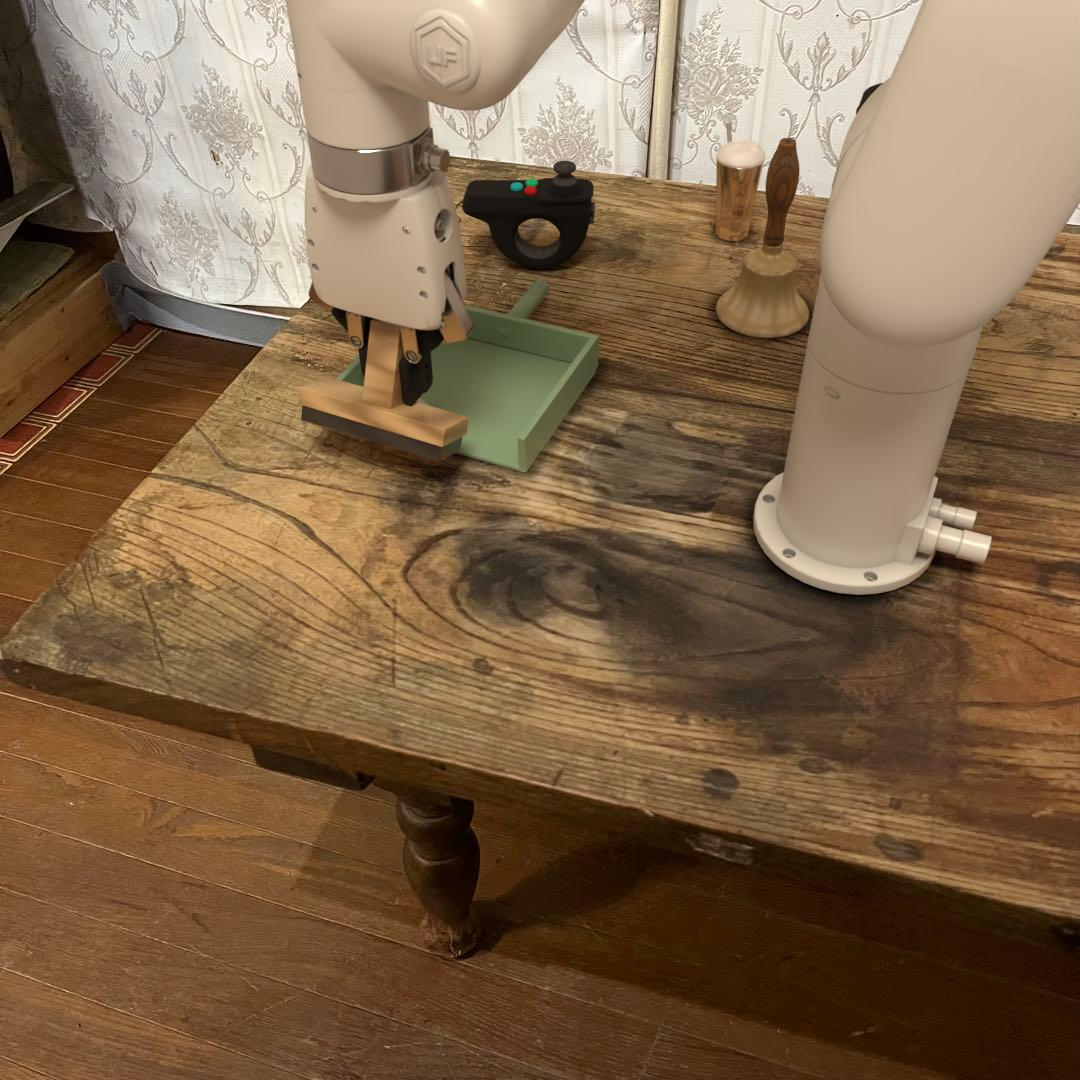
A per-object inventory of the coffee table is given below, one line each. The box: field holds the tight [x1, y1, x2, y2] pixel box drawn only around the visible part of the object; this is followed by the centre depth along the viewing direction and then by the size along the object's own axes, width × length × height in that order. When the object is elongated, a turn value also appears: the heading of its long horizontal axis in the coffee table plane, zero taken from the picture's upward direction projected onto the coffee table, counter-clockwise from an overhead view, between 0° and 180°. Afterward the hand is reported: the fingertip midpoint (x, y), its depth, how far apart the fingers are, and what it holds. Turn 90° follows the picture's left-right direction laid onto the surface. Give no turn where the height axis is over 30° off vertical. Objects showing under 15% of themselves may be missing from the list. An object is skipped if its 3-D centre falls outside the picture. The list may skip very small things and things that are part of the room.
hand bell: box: [715, 137, 810, 339], centre depth 88 cm, size 8×8×16 cm
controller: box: [461, 160, 596, 270], centre depth 97 cm, size 4×12×10 cm, turn 86°
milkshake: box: [715, 121, 766, 242], centre depth 100 cm, size 5×5×10 cm
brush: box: [298, 319, 469, 462], centre depth 75 cm, size 12×4×9 cm, turn 66°
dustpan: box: [335, 279, 600, 474], centre depth 87 cm, size 22×17×3 cm
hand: (398, 388), depth 77 cm, fingers closed on brush, 2 cm apart
